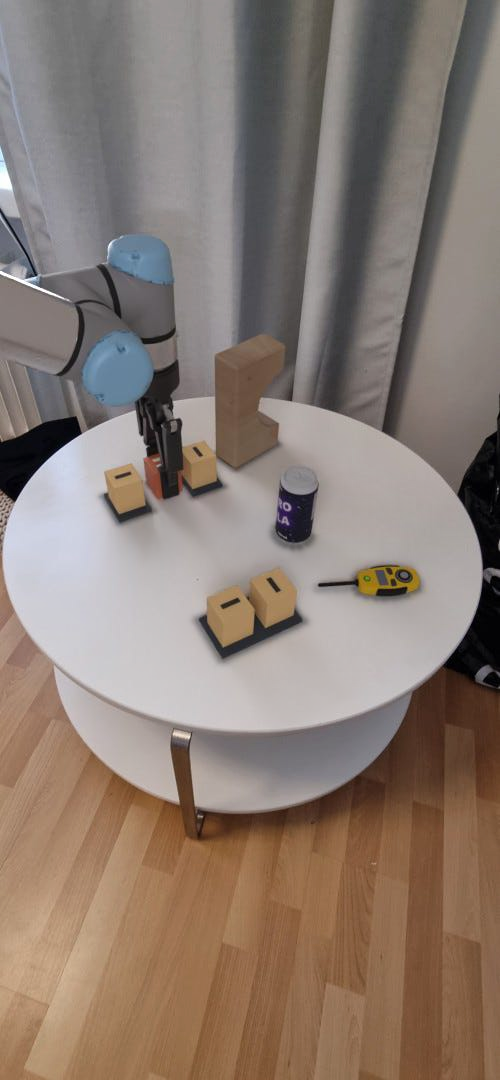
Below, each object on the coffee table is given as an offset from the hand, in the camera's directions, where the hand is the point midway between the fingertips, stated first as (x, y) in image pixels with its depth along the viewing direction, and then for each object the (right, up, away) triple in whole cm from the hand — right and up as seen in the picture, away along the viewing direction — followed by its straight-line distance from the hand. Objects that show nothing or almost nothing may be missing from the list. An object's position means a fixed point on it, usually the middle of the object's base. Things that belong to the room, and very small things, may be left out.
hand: (164, 486), depth 98 cm
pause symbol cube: (0, 0, 0) cm, 0 cm away
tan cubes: (0, -1, +1) cm, 1 cm away
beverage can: (+21, -8, -5) cm, 23 cm away
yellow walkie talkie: (+32, -16, -12) cm, 37 cm away
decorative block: (+14, +7, +9) cm, 18 cm away
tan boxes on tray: (+14, -20, -17) cm, 30 cm away
